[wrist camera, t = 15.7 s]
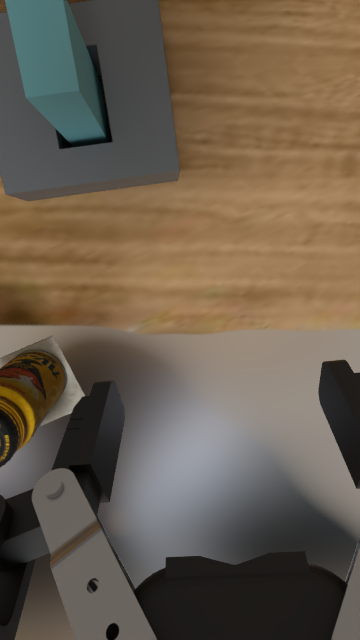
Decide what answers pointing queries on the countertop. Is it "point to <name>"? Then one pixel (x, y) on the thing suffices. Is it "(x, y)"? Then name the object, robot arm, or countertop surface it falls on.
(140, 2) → the gray slotted block
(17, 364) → the condiment
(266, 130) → the countertop surface
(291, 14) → the countertop surface
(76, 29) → the teal rectangular block
